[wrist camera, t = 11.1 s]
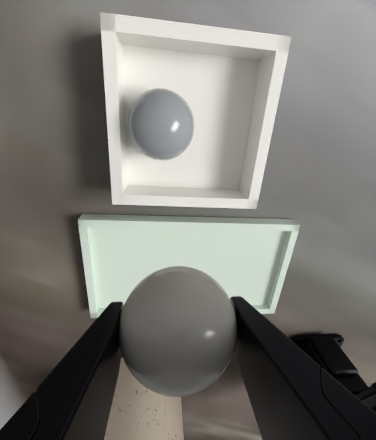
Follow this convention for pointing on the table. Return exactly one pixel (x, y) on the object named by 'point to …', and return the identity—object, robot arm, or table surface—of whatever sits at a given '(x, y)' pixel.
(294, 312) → the table surface
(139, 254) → the tray
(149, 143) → the pebble
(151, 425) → the teacup with lid
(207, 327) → the pebble
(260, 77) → the open box
